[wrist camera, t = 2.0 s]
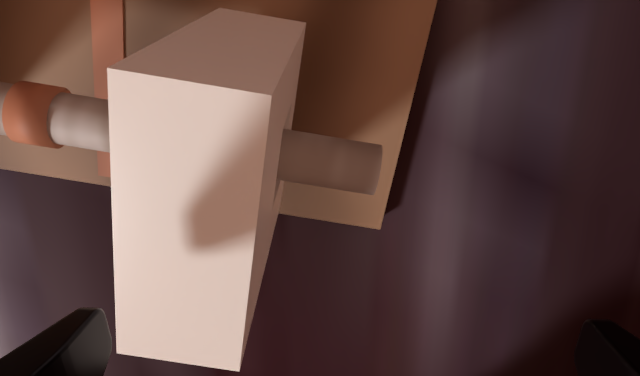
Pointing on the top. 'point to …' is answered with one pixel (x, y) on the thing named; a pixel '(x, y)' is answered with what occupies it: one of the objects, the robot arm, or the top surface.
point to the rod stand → (298, 143)
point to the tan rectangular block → (198, 182)
